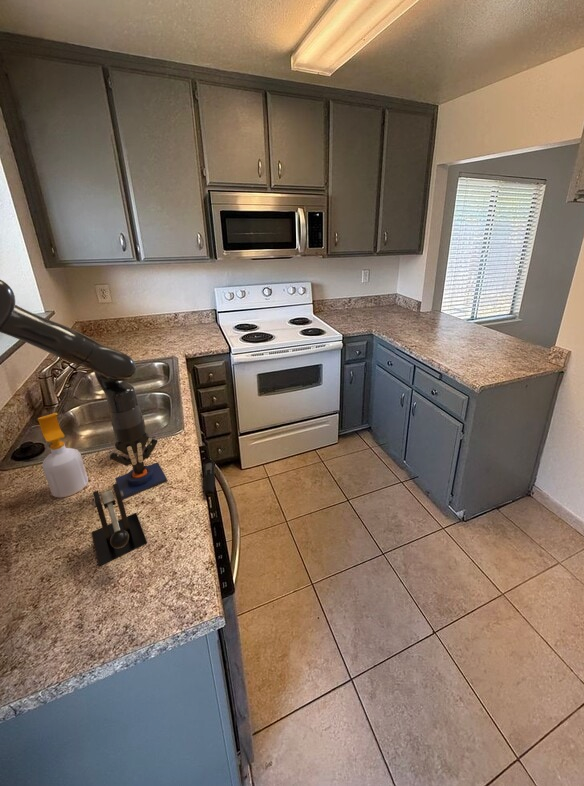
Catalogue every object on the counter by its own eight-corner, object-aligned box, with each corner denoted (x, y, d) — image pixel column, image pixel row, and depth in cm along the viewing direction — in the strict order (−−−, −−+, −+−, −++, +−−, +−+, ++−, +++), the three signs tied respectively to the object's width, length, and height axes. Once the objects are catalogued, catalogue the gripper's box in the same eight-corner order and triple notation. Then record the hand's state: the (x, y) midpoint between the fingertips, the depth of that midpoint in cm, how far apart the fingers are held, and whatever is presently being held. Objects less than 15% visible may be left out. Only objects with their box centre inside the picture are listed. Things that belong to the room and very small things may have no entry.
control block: (123, 503, 99) (119, 491, 98) (116, 484, 106) (113, 472, 105) (167, 484, 106) (165, 473, 104) (159, 467, 113) (156, 457, 112)
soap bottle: (56, 503, 99) (30, 426, 91) (48, 488, 105) (23, 414, 97) (92, 486, 105) (71, 413, 97) (83, 473, 111) (62, 403, 103)
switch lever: (131, 545, 79) (130, 539, 76) (113, 554, 77) (111, 548, 74) (116, 493, 85) (114, 486, 83) (99, 500, 83) (96, 493, 81)
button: (134, 484, 103) (133, 479, 102) (131, 476, 106) (130, 472, 105) (149, 478, 105) (148, 473, 104) (146, 471, 108) (145, 466, 107)
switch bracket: (148, 547, 85) (136, 497, 80) (100, 570, 79) (83, 519, 74) (137, 516, 94) (125, 470, 89) (93, 536, 88) (78, 488, 83)
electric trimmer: (202, 500, 100) (200, 491, 99) (203, 466, 114) (202, 457, 113) (216, 497, 101) (214, 488, 100) (215, 463, 115) (214, 455, 114)
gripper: (149, 408, 105) (160, 457, 111) (98, 423, 98) (112, 475, 104) (156, 418, 100) (166, 469, 106) (102, 435, 92) (116, 489, 98)
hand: (139, 472), depth 105 cm, fingers closed
